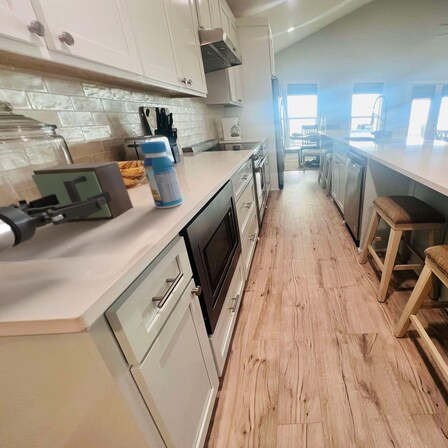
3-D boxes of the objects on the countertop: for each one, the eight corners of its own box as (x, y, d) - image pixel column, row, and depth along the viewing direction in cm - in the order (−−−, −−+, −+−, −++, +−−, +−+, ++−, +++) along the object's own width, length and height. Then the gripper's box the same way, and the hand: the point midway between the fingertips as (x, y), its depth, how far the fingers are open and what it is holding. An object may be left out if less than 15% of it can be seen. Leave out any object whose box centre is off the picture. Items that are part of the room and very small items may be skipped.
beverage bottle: (177, 208, 77) (159, 142, 69) (150, 210, 77) (129, 144, 68) (186, 200, 85) (172, 140, 76) (162, 201, 84) (145, 141, 76)
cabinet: (57, 221, 70) (32, 170, 64) (83, 210, 80) (63, 164, 73) (113, 218, 71) (93, 167, 65) (133, 207, 80) (117, 161, 74)
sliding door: (33, 228, 64) (7, 180, 58) (55, 219, 70) (33, 174, 64) (95, 224, 64) (75, 176, 59) (111, 215, 70) (94, 171, 65)
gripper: (-63, 253, 46) (40, 213, 65) (72, 244, 47) (134, 207, 66) (-90, 217, 43) (26, 186, 62) (54, 208, 44) (125, 180, 63)
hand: (82, 197), depth 64 cm, fingers open, 13 cm apart
